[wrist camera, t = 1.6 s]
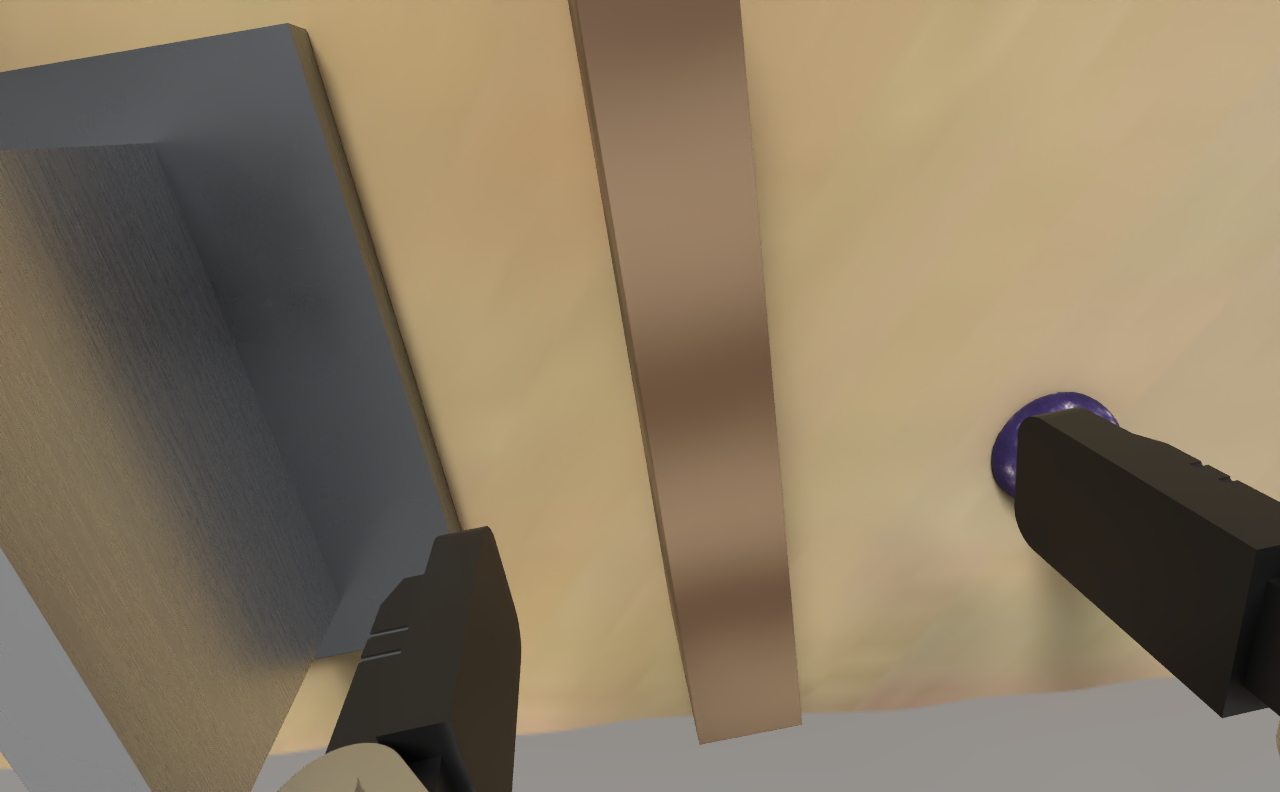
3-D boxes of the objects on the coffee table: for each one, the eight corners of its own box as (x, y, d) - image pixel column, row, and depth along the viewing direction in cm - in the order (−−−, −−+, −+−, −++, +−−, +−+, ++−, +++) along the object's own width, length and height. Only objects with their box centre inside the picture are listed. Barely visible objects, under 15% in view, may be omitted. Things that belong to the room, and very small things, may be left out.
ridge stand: (306, 29, 17) (2, -78, 8) (484, 603, 24) (430, 904, 15) (-99, 99, 17) (-897, 72, 8) (197, 659, 24) (-40, 1001, 15)
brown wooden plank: (549, -107, 17) (540, -218, 11) (670, -126, 17) (718, -246, 11) (670, 607, 25) (699, 744, 20) (751, 592, 25) (801, 724, 20)
